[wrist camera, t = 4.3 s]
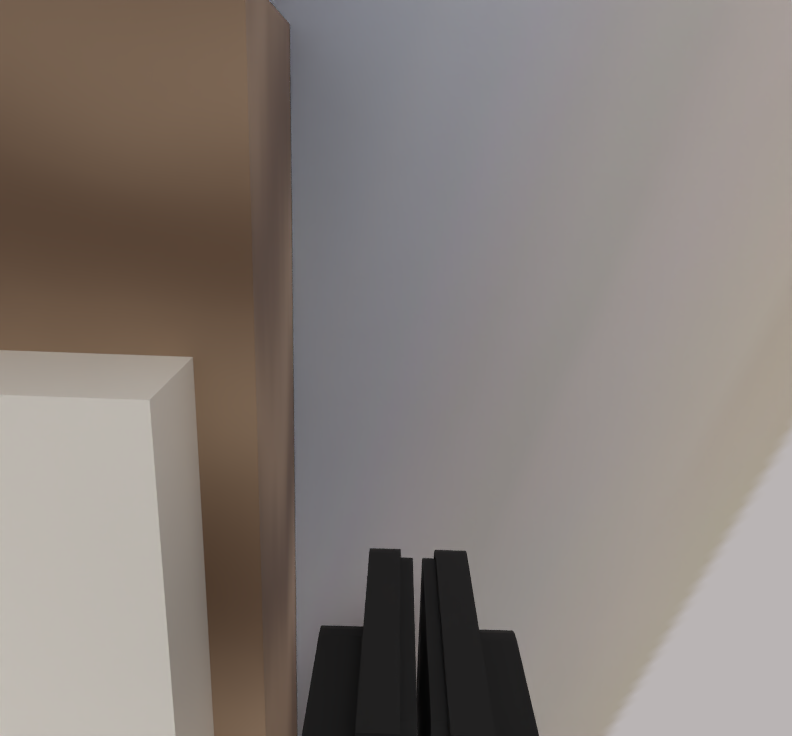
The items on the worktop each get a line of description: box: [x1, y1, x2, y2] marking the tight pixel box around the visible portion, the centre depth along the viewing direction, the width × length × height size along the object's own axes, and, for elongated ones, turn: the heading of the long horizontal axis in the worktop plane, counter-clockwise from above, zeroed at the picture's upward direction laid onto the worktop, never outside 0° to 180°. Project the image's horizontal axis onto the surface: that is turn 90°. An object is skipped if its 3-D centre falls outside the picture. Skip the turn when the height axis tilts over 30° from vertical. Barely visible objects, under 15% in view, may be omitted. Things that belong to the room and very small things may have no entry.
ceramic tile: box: [0, 350, 214, 736], centre depth 12 cm, size 9×6×2 cm, turn 178°
